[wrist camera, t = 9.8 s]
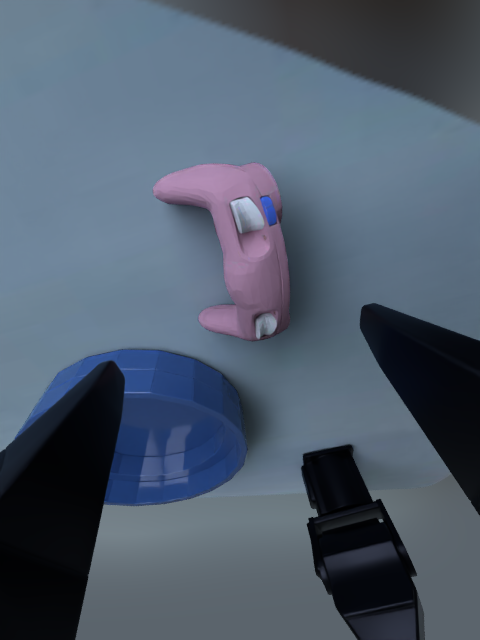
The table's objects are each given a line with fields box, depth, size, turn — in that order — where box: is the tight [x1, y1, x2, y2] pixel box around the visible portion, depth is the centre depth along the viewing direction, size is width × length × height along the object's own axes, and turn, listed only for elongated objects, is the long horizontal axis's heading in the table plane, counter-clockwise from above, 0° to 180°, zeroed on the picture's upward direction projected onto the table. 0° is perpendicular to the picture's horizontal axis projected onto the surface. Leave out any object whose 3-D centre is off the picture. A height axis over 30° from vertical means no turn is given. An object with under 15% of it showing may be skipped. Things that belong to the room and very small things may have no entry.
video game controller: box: [153, 163, 290, 341], centre depth 14 cm, size 10×5×7 cm, turn 11°
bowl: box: [15, 350, 248, 506], centre depth 24 cm, size 18×18×4 cm
